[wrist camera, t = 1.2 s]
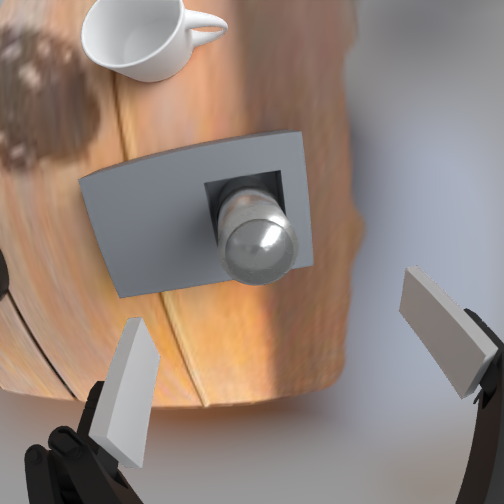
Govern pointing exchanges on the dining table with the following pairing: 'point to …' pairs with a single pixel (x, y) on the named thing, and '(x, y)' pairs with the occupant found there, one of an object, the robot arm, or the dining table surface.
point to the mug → (145, 36)
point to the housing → (188, 208)
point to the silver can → (254, 233)
